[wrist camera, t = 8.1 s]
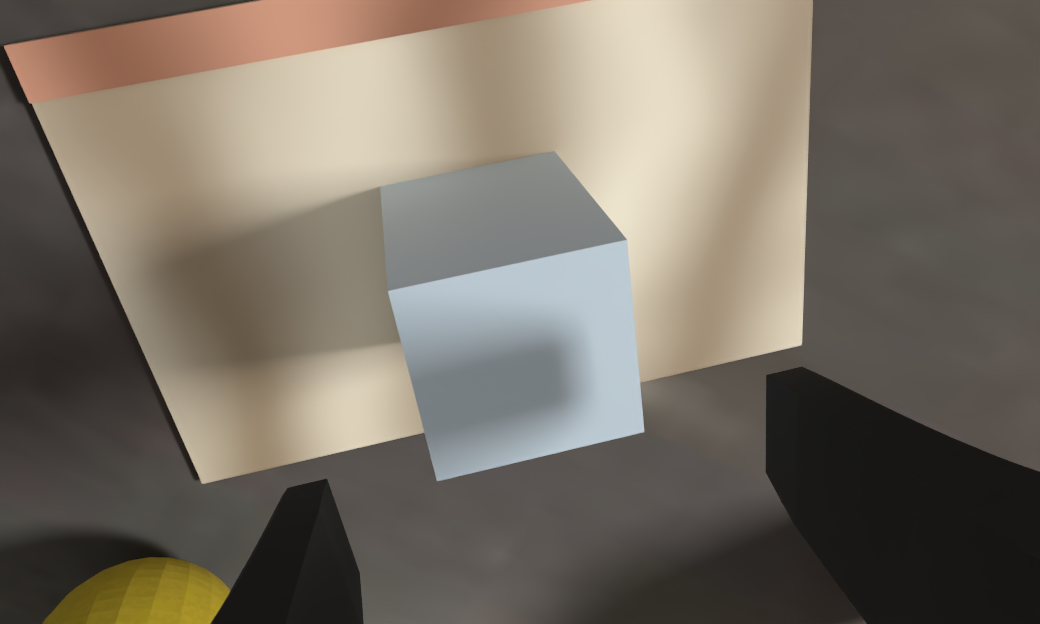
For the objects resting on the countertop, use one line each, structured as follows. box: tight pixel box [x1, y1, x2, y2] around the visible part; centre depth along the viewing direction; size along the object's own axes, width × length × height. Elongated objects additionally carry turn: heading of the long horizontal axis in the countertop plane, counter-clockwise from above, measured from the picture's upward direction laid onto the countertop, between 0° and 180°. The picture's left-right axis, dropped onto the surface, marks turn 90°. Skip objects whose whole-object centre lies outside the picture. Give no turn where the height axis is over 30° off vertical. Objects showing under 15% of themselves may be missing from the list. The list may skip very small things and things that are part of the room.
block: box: [380, 151, 644, 481], centre depth 18 cm, size 4×4×6 cm
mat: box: [4, 0, 813, 484], centre depth 20 cm, size 18×12×1 cm, turn 98°
